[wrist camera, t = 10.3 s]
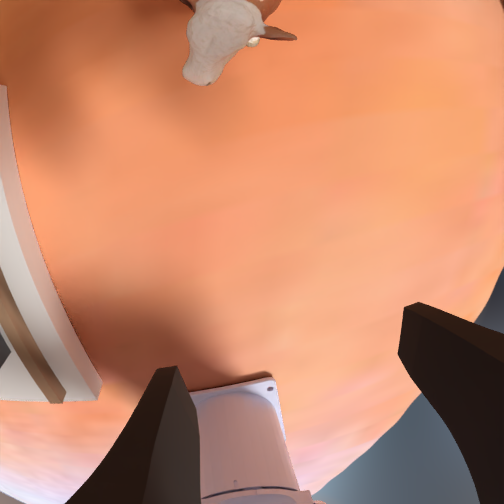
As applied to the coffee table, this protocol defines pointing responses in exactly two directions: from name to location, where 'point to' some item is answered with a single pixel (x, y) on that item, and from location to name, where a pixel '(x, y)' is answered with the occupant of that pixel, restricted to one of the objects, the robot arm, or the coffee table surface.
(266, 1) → the bull figurine
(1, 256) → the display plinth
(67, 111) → the coffee table surface
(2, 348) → the grey rectangular block
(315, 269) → the coffee table surface
